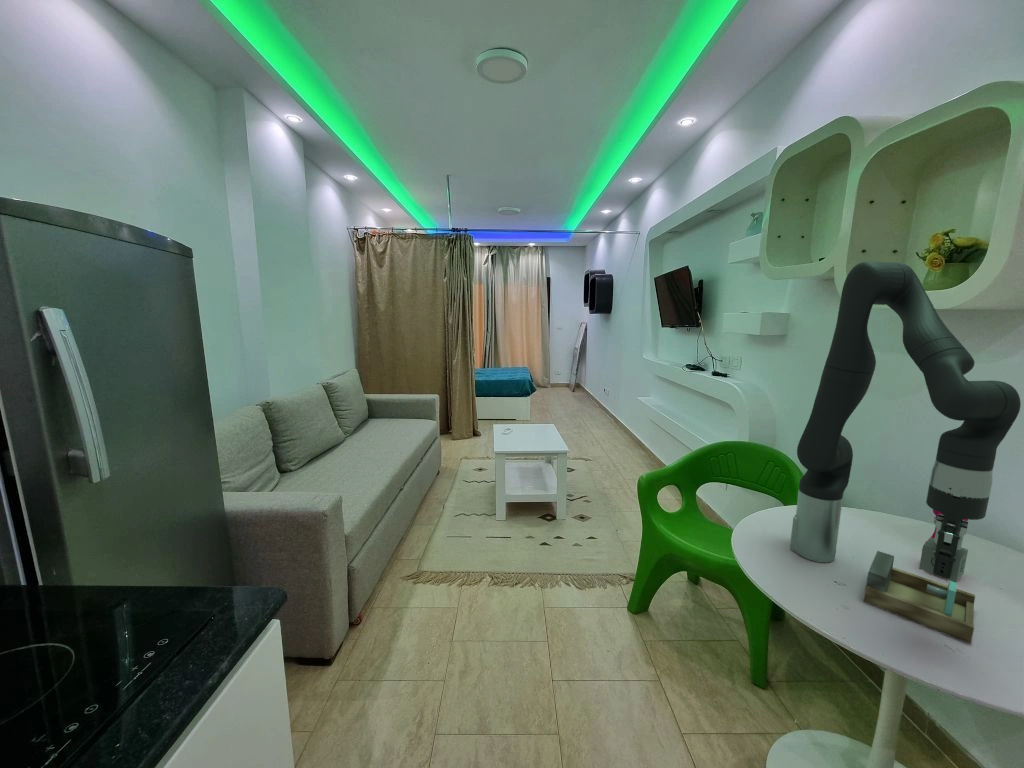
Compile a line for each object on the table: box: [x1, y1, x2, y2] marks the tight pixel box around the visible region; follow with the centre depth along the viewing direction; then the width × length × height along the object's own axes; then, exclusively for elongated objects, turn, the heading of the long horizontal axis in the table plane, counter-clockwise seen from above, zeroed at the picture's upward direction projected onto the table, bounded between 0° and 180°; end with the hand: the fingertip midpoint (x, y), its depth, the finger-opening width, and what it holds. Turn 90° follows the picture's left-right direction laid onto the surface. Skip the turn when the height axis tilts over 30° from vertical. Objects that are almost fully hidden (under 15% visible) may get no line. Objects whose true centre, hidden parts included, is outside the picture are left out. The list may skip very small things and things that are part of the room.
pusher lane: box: [863, 550, 976, 644], centre depth 88 cm, size 16×14×7 cm
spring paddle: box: [926, 580, 958, 616], centre depth 86 cm, size 4×11×8 cm, turn 131°
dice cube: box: [918, 537, 969, 584], centre depth 77 cm, size 5×5×5 cm
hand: (942, 568), depth 78 cm, fingers closed on dice cube, 5 cm apart
